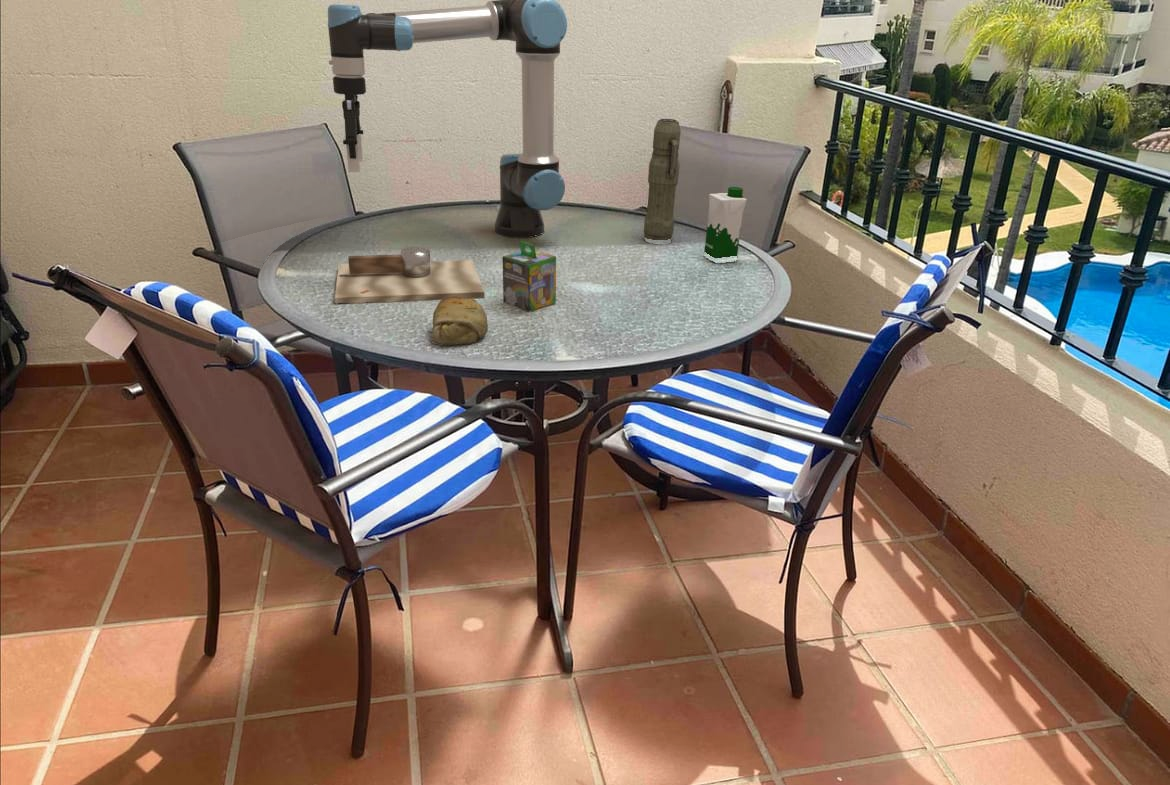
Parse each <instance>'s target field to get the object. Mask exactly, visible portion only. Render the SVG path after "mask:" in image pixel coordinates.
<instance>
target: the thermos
mask: <svg viewBox="0 0 1170 785" xmlns="http://www.w3.org/2000/svg"><path fill="white" fill-rule="evenodd" d="M681 133H682V132H681V126H680V121H677V120H676V119H675V118H674V119H673V118H660V120H657V122H656V124H655V127H654V130H653V138H652V140H653V141H652V148H653V149H652V153H651V154H652V155H651V158H650V161H649V165H648V177H647V182H648V195H647V196H648V197H647V208H646V209H647V210H646V215H645V217H644V225H643V236H644V237H645V238H647V239H652V240H668V239H671V238H672V239H673V236H674V228H675V216H674V210H675V200H676V189H677V185H678V183H679V177H680V176H679V174H680V173H679V172H680V164H681V163H680V160H679V149H680V142H681V141H680V140H681ZM644 237H643V238H644Z"/></svg>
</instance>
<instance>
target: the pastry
mask: <svg viewBox="0 0 1170 785" xmlns="http://www.w3.org/2000/svg"><path fill="white" fill-rule="evenodd" d="M432 316H433V317H432V328H433V329H432V334H431V343H432V342H434V343H437V344H436V345H440V344H442V345H444V346H451V345H452V346H453V345H470V344H474V343H475V341H476V342H478V341H480V340H482V339H483V338H484V337H485V336H486V333H487V332H488V327H489V326H488V317H487V314H486V311H485V309H484V308H483V306H482V305H481V303H479V302H478V301H477V300H475V298H471V299H467V298H460V297H457V296H455V297H450V298H446V299H443V300H439V302H438V304H437V306H436V307H435V310H434V312H433V313H432ZM434 343H433V344H434ZM442 345H441V346H442Z"/></svg>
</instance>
